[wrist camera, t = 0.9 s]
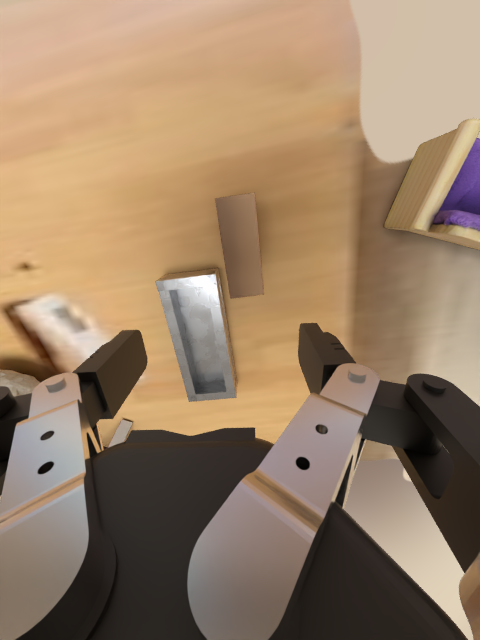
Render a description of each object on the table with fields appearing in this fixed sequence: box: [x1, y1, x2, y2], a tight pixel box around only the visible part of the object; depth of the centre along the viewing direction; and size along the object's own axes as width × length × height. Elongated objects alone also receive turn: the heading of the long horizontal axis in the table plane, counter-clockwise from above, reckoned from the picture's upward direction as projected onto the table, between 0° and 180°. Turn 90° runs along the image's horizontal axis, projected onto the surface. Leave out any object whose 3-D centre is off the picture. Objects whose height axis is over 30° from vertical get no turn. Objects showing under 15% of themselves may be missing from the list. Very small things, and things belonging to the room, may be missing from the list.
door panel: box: [215, 193, 264, 298], centre depth 24 cm, size 3×8×10 cm, turn 7°
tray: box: [155, 268, 237, 402], centre depth 32 cm, size 7×18×4 cm, turn 7°
